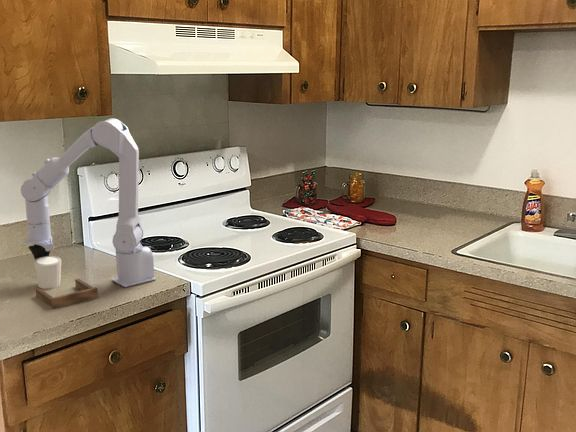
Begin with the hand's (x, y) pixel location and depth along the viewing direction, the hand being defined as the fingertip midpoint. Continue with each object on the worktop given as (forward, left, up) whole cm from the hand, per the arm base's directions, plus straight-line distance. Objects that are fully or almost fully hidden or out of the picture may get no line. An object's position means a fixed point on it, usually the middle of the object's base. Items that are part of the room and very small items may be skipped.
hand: (42, 270), depth 171 cm
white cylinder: (0, +3, -3) cm, 5 cm away
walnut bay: (0, +14, -3) cm, 15 cm away
